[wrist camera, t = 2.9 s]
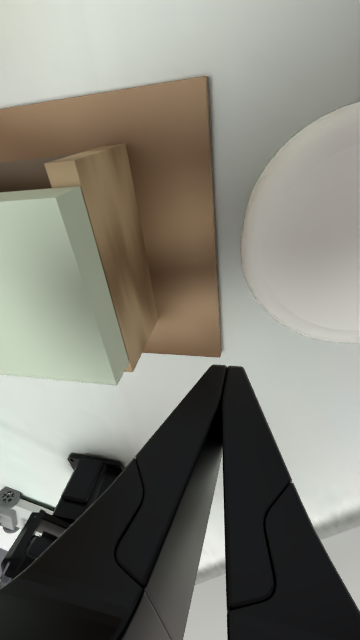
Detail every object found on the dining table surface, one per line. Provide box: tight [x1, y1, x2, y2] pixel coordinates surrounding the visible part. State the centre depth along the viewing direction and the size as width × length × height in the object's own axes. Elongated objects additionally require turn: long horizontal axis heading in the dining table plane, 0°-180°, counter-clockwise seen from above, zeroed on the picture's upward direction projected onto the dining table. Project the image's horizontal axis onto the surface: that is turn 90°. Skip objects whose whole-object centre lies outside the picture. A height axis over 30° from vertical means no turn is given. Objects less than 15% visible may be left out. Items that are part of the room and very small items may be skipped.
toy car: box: [0, 487, 54, 537], centre depth 45 cm, size 18×10×12 cm
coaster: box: [241, 102, 360, 343], centre depth 14 cm, size 10×10×4 cm
